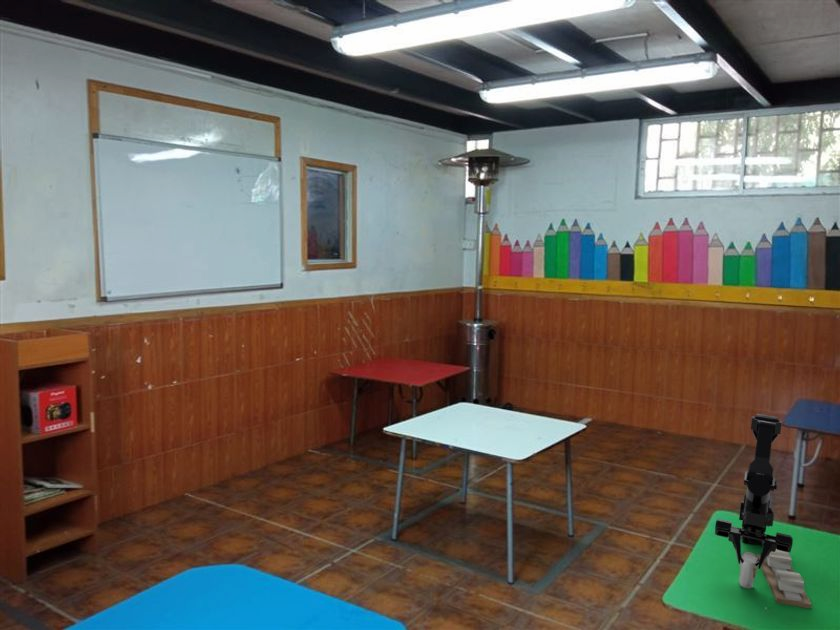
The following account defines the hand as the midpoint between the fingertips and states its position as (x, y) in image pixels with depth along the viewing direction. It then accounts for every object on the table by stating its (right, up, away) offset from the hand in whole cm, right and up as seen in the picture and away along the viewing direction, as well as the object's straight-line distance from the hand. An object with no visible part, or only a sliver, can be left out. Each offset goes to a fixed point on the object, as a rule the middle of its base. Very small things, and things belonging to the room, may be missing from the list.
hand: (749, 565), depth 179 cm
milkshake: (0, -7, +2) cm, 7 cm away
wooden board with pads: (+12, -6, +5) cm, 14 cm away
